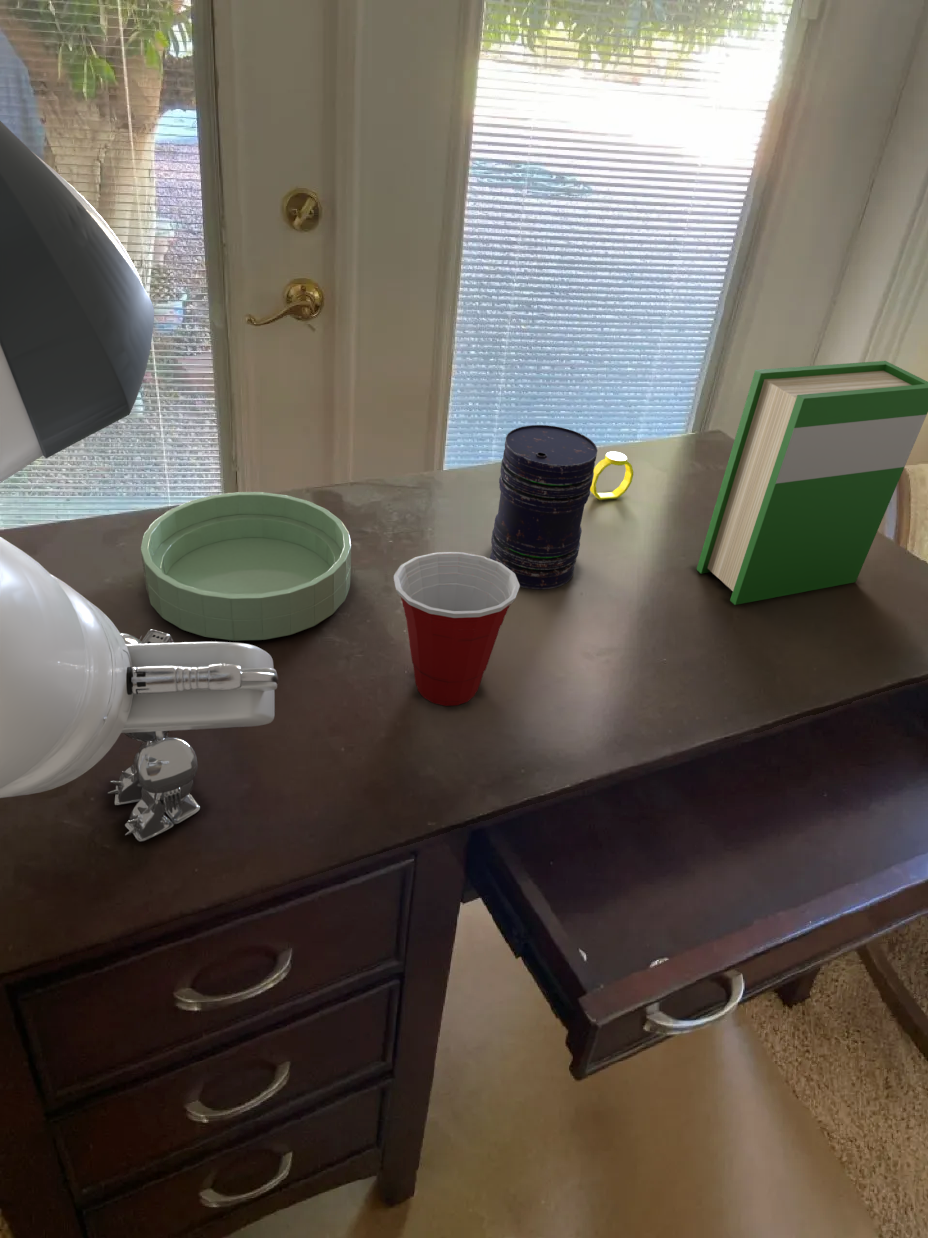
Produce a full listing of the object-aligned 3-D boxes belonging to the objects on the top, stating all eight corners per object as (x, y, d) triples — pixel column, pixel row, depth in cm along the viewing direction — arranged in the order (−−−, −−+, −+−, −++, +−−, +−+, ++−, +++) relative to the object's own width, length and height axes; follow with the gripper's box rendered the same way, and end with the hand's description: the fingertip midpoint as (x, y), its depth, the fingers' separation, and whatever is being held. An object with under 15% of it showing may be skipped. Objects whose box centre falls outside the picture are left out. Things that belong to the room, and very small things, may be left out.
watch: (593, 505, 114) (601, 463, 110) (581, 495, 116) (589, 453, 112) (631, 499, 116) (641, 457, 113) (619, 489, 118) (628, 448, 115)
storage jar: (508, 534, 106) (525, 416, 97) (586, 558, 103) (610, 439, 94) (474, 572, 98) (489, 449, 90) (556, 600, 96) (580, 475, 87)
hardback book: (735, 604, 98) (803, 398, 84) (696, 569, 103) (755, 369, 89) (855, 582, 104) (938, 386, 90) (813, 549, 110) (885, 360, 96)
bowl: (136, 649, 82) (128, 600, 79) (158, 535, 99) (153, 491, 95) (356, 642, 86) (357, 595, 83) (343, 534, 102) (344, 491, 99)
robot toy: (85, 742, 72) (53, 590, 64) (161, 719, 75) (140, 571, 67) (139, 872, 63) (110, 715, 54) (224, 840, 66) (209, 686, 57)
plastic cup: (479, 641, 88) (492, 537, 81) (522, 712, 80) (540, 604, 73) (373, 657, 85) (378, 550, 78) (407, 733, 77) (415, 622, 70)
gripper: (275, 599, 38) (281, 641, 51) (-272, 613, 34) (-110, 654, 47) (279, 749, 37) (284, 752, 50) (-283, 780, 33) (-115, 774, 46)
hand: (90, 704), depth 49 cm, fingers open, 8 cm apart
